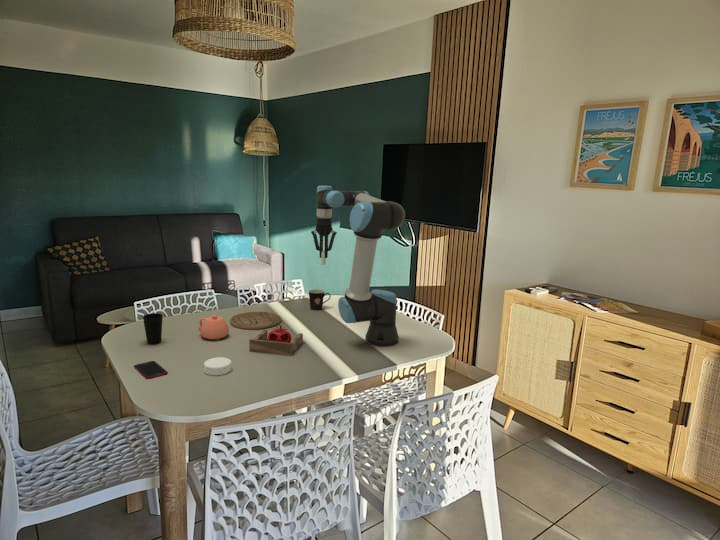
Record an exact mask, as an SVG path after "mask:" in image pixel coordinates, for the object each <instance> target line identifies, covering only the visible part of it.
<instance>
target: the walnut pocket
mask: <svg viewBox="0 0 720 540" xmlns="http://www.w3.org/2000/svg"><path fill="white" fill-rule="evenodd" d="M303 336H304V335H303V333H300V332H299V333H298V334H297V335H296V336H295V337H294V339H292V340H291V342H290V343H287V342H277V341H269V340H268V329H263V331H261V332H260V333H258V335H256V336H255V337H254V338H250V339H248V341H249V343H248V344H249V345H248V346H249V347H248V348H249V352H253V353H260V354H261V353H263V354H270V355H281V356H290V357H291V356H292V355H293V354H294V352H295V351H297V349H298V348H299V347H300V346H301V345H302V343H303V341H304V339H303V338H304V337H303Z"/></svg>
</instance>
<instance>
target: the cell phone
mask: <svg viewBox="0 0 720 540" xmlns="http://www.w3.org/2000/svg"><path fill="white" fill-rule="evenodd" d="M133 368H134V369H135V371H137V372H138V373H139V374H140V375H141V376H142V377H143V378H144V379H146V380H151V379H155V378H158V377H163V376H167V375H169V374H168V371H167V370H166V369H165V368H164V367H162V366H161V365H160V364H159V363H157V362H156V361H154V360H150V361H145V362H142V363H137V364H134V365H133Z"/></svg>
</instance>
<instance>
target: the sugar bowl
mask: <svg viewBox="0 0 720 540" xmlns="http://www.w3.org/2000/svg"><path fill="white" fill-rule="evenodd" d="M198 321H199V322H198V323H199V327H198V329H197V330H198V331H199V332H200V335H201V336H202V337H203V338H204V339H205V340H215V341H218V340H221V339H223V338H225V337H227V335H228V334H229V332H230V329H229V325H228V323H227V321H226V320H225V319H224V317H223V316H218V314H212V315H211V316H208V317H202V318H200V319H199V320H198ZM202 321H204V322H202Z"/></svg>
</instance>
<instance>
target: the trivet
mask: <svg viewBox="0 0 720 540" xmlns="http://www.w3.org/2000/svg"><path fill="white" fill-rule="evenodd" d="M281 321H282V318H281V316H280V315H278V314H277V313H273V312H268V311H267V312H266V311H249V312H242V313H238V314H236V315H233V316H231V317H230V318H229V325H231V327H233V328H236V329H237V330H238V329H239V330H245V331H246V330H248V331H259V330H260V331H261V330H269V329H271V328H272V329H273V328H276V327H278V326H280V324H281V323H282V322H281Z"/></svg>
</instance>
